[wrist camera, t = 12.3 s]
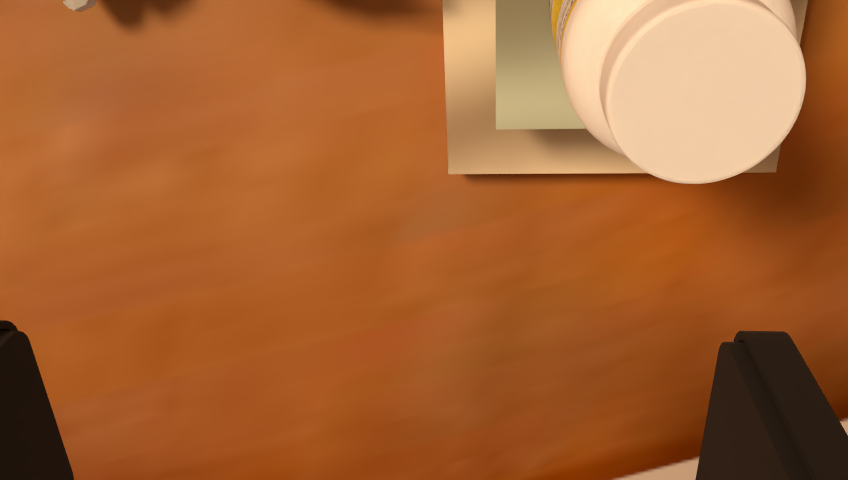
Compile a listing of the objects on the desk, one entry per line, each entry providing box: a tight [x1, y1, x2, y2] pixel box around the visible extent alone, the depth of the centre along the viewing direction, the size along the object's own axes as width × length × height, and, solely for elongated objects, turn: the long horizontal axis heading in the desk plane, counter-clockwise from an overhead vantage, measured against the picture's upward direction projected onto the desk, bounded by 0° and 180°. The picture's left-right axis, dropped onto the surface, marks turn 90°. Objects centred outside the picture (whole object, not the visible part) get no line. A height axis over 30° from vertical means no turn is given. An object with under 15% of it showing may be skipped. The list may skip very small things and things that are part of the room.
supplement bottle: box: [549, 0, 806, 184], centre depth 20 cm, size 5×5×10 cm
